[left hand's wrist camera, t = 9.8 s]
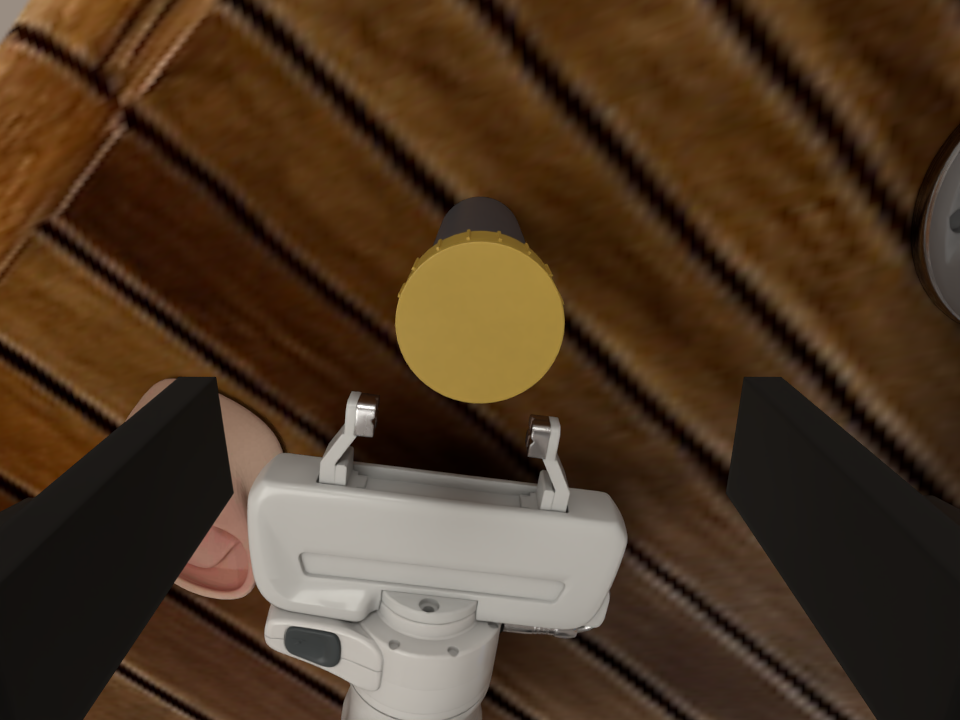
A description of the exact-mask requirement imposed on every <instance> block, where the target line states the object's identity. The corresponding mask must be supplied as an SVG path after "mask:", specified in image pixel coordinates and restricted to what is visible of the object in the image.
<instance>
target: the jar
mask: <svg viewBox="0 0 960 720" xmlns="http://www.w3.org/2000/svg"><path fill="white" fill-rule="evenodd" d="M469 229H470V231H490V232H497V231H501V234H504V235H507V236H509V237H512V238H514V239H516V240H518V241H520V242H521V243H523V244H525V243H526V242H525V240H524V237H523V235H522V232H521V229H520V227H519V224H518V222H517V220H516V218H515V216H514V215H513V213H512V212H511V211H510V210H509V209H508V208H507V207H506V206H505V205H504V204H502V203H501V202H499V201H497V200H494V199H491V198H487V197H473V198H469V199H466V200H463V201H461V202H459V203H458V204H456V205H455V206H454V207H452V209H451V210H450V211H449V212H448V213H447V214H446V216H445V218H444V219H443V222H442V224H441V227H440V229H439V232H438V234H437V237H436V240H435V242H434V245H435V244H437V243H438V240H439V239H442V240H444V239H446V238H448V237H451V236H453V235H456V234H460V233H464V232H467V230H469ZM434 245H433V246H434Z"/></svg>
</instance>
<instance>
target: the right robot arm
mask: <svg viewBox="0 0 960 720" xmlns="http://www.w3.org/2000/svg"><path fill="white" fill-rule="evenodd" d="M379 404H380V395H374V394H368V393H361V392H353V391H352V392H351V395H350V397H349V399H348V402H347V407H346V417H345V424H344V425H343V426H342V428H341V429H340V430H339V432H338V433H337V434H336V435H335V437H334V438H333V439H332V440H331V442H330V443H329V445H328V447H327V449H326V451H325V453H324V455H323V457H314V456H306V455H298V454H291V453H280V454H278V455H277V456H275V457H274V458H273V459H272V460H271V461H270V462H268V463H267V464H266V465H265V466H264V467H263V469H262V470H261V471H260V473H259V474H258V476H257V477H256V479H255V481H254V483H253V485H252V487H251V489H250V492H249V496H248V503H247V525H248V541H249V550H250V558H251V565H252V571H253V576H254V579H255V582H256V585H257V587H258V589H259V591H260V592H261V594H262V595H263V596H264V598H265V599H267V600H268V601H269V602H270V603H271V606H270V609H269V613H268V617H267V621H266V626H265V641H266V643H267V644H268V645H269V646H270V647H271V648H272V649H274V650H276V651H278V652H281V653H283V654H286V655H289V656H291V657H294V658H297V659H300V660H302V661H305V662H308V663H310V664H312V665H315V666H317V667H320V668H322V669H324V670H326V671H329V672H331V673H333V674H335V675H337V676H339V677H341V678H342V679H344V680H346V681H348V682H349V683H350V688H349V690H348V692H347V695H346V697H345V700H344V704H343V709H342V716H341V720H482V709H481V702H482V700H483V699H484V697H485V695H486V693H487V690H488V688H489V685H490V681H491V677H492V672H493V666H494V661H495V656H496V651H497V645H498V640H499V633H501V632H502V631H503V632H511V633H520V634H541V633H542V634H546V635H553V636H554V637H558V638H574V637H576V635H577V633H579V632H585V631H589V630H591V629H593V628H596V627H599V626H600V625H601V624H602V622H603V621H604V619H605V615H606V611H607V608H608V604H609V600H610V588H611V586H612V583H613V581H614V579H615V576H616V574H617V572H618V569H619V566H620V564H621V561H622V558H623V555H624V552H625V549H626V545H627V531H626V527H625V523H624V520H623V517H622V515H621V513H620V511H619V509H618V507H617V506H616V504H615V503H614V501H613V500H612V498H611V497H610V496H609V495H608V494H607V493H605V492H600V491H592V490H584V489H576V488H569V487H568V483H567V479H566V474H565V471H564V469H563V466H562V464H561V461H560V459H559V457H558V454H557V449H558V444H559V439H560V423H559V420H558V418H557V417H549V416H541V415H533V414H531V415H530V418H529V429H528V430H527V434H526V440H525V442H526V447H527V456H528V457H534V458H541V459H543V462H544V464H545V466H546V469H547V471H546V470H542V471H540V475H539V480H538V484H535V483H527V482H518V481H510V480H502V479H494V478H486V477H478V476H469V475H461V474H453V473H445V472H437V471H429V470H420V469H412V468H404V467H396V466H388V465H380V464H371V463H363V462H355V461H353V457H354V448H353V447H351V446H350V444H351V443H352V442H353V440H354V439H355V438H356V437H357V436H365V437H373V435H374V432H375V428H376V426H377V423H378V414H379V411H378V407H379Z"/></svg>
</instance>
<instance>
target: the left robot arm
mask: <svg viewBox="0 0 960 720" xmlns="http://www.w3.org/2000/svg"><path fill="white" fill-rule="evenodd" d="M911 242H912V254H913V259H914V264H915V268H916V271H917V274H918V277H919V280H920V282H921V284H922V286H923V288H924V290H925V291H926V293H927V295H928V296H929V298H930V299H931V300H932V301H933V303H934V304H935V305H936V306H937V307H938V308H939V309H940V310H941V311H942V312H943V313H944V314H946V315H947V316H948V317H950V318H951V319H952V320H954V321H956V322H957V323H959V324H960V124H959V125H958V127H957V128H956V129H955V130H954V131H953V132H952V134H951V135H950V136H949V138H948V139H947V140H946V142H945V143H944V144H943V146H942V147H941V149H940V150H939V152H938V154H937V155H936V157H935V159H934V160H933V162H932V164H931V166H930V168H929V170H928V172H927V174H926V176H925V179H924V181H923V183H922V186H921V188H920V192H919V195H918V198H917V201H916V205H915V210H914V215H913V222H912V240H911ZM233 494H234V490H233V484H232V477H231V471H230V464H229V458H228V451H227V445H226V438H225V432H224V425H223V419H222V412H221V406H220V399H219V393H218V386H217V380H216V377H178V378H177V379H176V380H175V381H173V382H172V383H171V384H170V385H169V386H167V387H166V388H165V389H164V390H163V391H161V392H160V393H159V394H158V395H157V396H155V397H154V398H153V399H152V400H151V401H150V402H148V403H147V404H146V405H145V406H144V407H142V408H141V409H140V410H139V411H138V412H136V413H135V414H134V415H133V416H132V417H130V418H129V419H128V420H127V421H126V422H124V423H123V424H122V425H121V426H120V427H118V428H117V429H116V430H115V431H114V432H112V433H111V434H110V435H109V436H108V437H107V438H105V439H104V440H103V441H102V442H101V443H99V444H98V445H97V446H96V447H95V448H93V449H92V450H91V451H90V452H89V453H87V454H86V455H85V456H84V457H83V458H81V459H80V460H79V461H78V462H77V463H75V464H74V465H73V466H72V467H71V468H70V469H68V470H67V471H66V472H65V473H64V474H62V475H61V476H60V477H59V478H58V479H56V480H55V481H54V482H53V483H52V484H50V485H49V486H48V487H47V488H46V489H44V490H43V491H42V492H41V493H40V494H38V495H37V496H36V497H35V498H26V499H24V500H23V501H21V502H19V503H17V504H15V505H13V506H11V507H9V508H7V509H5V510H3V511H1V512H0V720H83V719H84V717H85V716H86V714H87V713H88V711H89V710H90V708H91V707H92V705H93V704H94V702H95V701H96V699H97V698H98V696H99V695H100V693H101V692H102V690H103V689H104V687H105V686H106V684H107V683H108V681H109V680H110V678H111V677H112V675H113V674H114V672H115V671H116V669H117V668H118V666H119V665H120V663H121V662H122V660H123V659H124V657H125V656H126V654H127V653H128V651H129V650H130V648H131V647H132V645H133V644H134V642H135V641H136V639H137V638H138V636H139V635H140V633H141V632H142V630H143V629H144V627H145V626H146V624H147V623H148V621H149V620H150V618H151V617H152V615H153V614H154V612H155V611H156V609H157V608H158V606H159V605H160V603H161V602H162V600H163V599H164V597H165V596H166V594H167V593H168V591H169V590H170V588H171V587H172V585H173V584H174V582H175V581H176V579H177V578H178V576H179V575H180V573H181V572H182V570H183V569H184V567H185V566H186V564H187V563H188V561H189V560H190V558H191V557H192V555H193V554H194V552H195V551H196V549H197V548H198V546H199V545H200V543H201V542H202V540H203V539H204V537H205V536H206V534H207V533H208V531H209V530H210V528H211V527H212V525H213V524H214V522H215V521H216V519H217V518H218V516H219V515H220V513H221V512H222V510H223V509H224V507H225V506H226V504H227V503H228V501H229V500H230V498H231V497H232V495H233ZM726 494H727V495H728V497H729V498H730V500H731V501H732V503H733V504H734V506H735V507H736V509H737V510H738V512H739V513H740V515H741V516H742V518H743V519H744V521H745V522H746V524H747V525H748V527H749V528H750V530H751V531H752V533H753V534H754V536H755V537H756V539H757V540H758V542H759V543H760V545H761V546H762V548H763V549H764V551H765V552H766V554H767V555H768V557H769V558H770V560H771V561H772V563H773V564H774V566H775V567H776V569H777V570H778V572H779V573H780V575H781V576H782V578H783V579H784V581H785V582H786V584H787V585H788V587H789V588H790V590H791V591H792V593H793V594H794V596H795V597H796V599H797V600H798V602H799V603H800V605H801V606H802V608H803V609H804V611H805V612H806V614H807V615H808V617H809V618H810V620H811V621H812V623H813V624H814V626H815V627H816V629H817V630H818V632H819V633H820V635H821V636H822V638H823V639H824V641H825V642H826V644H827V645H828V647H829V648H830V650H831V651H832V653H833V654H834V656H835V657H836V659H837V660H838V662H839V663H840V665H841V666H842V668H843V669H844V671H845V672H846V674H847V675H848V677H849V678H850V680H851V681H852V683H853V684H854V686H855V687H856V689H857V690H858V692H859V693H860V695H861V696H862V698H863V699H864V701H865V702H866V704H867V705H868V707H869V708H870V710H871V711H872V713H873V714H874V716H875V717H876V719H877V720H960V509H958V508H956V507H954V506H952V505H950V504H948V503H946V502H944V501H942V500H941V499H939V498H937V497H935V496H923V495H922V494H920V493H919V492H918V491H917V490H916V489H914V488H913V487H912V486H911V485H910V484H908V483H907V482H906V481H905V480H904V479H902V478H901V477H900V476H899V475H898V474H896V473H895V472H894V471H893V470H892V469H890V468H889V467H888V466H887V465H886V464H885V463H883V462H882V461H881V460H880V459H879V458H877V457H876V456H875V455H874V454H873V453H871V452H870V451H869V450H868V449H867V448H865V447H864V446H863V445H862V444H861V443H859V442H858V441H857V440H856V439H855V438H853V437H852V436H851V435H850V434H849V433H847V432H846V431H845V430H844V429H843V428H842V427H840V426H839V425H838V424H837V423H836V422H834V421H833V420H832V419H831V418H830V417H828V416H827V415H826V414H825V413H824V412H822V411H821V410H820V409H819V408H818V407H816V406H815V405H814V404H813V403H812V402H810V401H809V400H808V399H807V398H806V397H805V396H803V395H802V394H801V393H800V392H799V391H797V390H796V389H795V388H794V387H793V386H791V385H790V384H789V383H788V382H787V381H785V380H784V379H783V378H782V377H744V380H743V386H742V393H741V399H740V406H739V412H738V419H737V425H736V432H735V438H734V445H733V451H732V458H731V464H730V471H729V477H728V484H727V490H726Z"/></svg>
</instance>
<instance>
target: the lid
mask: <svg viewBox="0 0 960 720" xmlns="http://www.w3.org/2000/svg"><path fill="white" fill-rule="evenodd" d="M552 276H553V275H552V272H551V270H550V268H549V266H548V265H547V264H544V263H543V262H542V260H541V259H540V258H539V257H538V256H537V255H536V254H535V253H534V252H533V251H532V250H531V249H530V248H529V245H528V244H527V243H525V244H523V243H521V242H520V241H518V240H516V239H514V238H512V237H509V236H507V235H504V234H501V231H497V232H490V231H470V229H469V230H467V232H464V233H460V234H456V235H453V236H451V237H448V238H446V239H444V240H442V239H439V240H438V243H437V244H435V245H434V246H433V247H432V248H430V249H429V250H428V251H427V252H426V253H425V254H424V255H423V256H422V257H421V258H420V259H419V258H417V259H416V261H415V263H414V265H413V267H412V271H411V273H410V275H409V277H408V279H407V281H406V283H404V284H403V286H402V288H401V290H400V292H399V294H398V297H399V301H398V305H397V309H396V319H395V322H396V323H395V327H396V334H397V340H398V344H399V347H400V350H401V352H402V354H403V357H404V359H405V361H406V362H407V364H408V365H409V367H410V368H411V370H412V371H413V372H414V373H415V375H416V376H417V377H418V378H419V379H420V380H421V381H422V382H424V383H425V384H426V385H427V386H429V387H430V388H431V389H433V390H434V391H436V392H438V393H440V394H442V395H444V396H446V397H449V398H451V399H454V400H458V401H462V402H469V403H492V402H498V401H502V400H506V399H509V398H511V397H514V396H516V395H518V394H520V393H522V392H524V391H526V390H527V389H529V388H530V387H532V386H533V385H534V384H535V383H536V382H538V381H539V380H540V379H541V378H542V377H543V376H544V375H545V373H546V372H547V371H548V370H549V368H550V367H551V365H552V364H553V362H554V361H555V359H556V357H557V355H558V353H559V350H560V347H561V344H562V340H563V335H564V325H565V319H564V309H563V305H564V301H563V299H562V297H561V295H560V293H559V291H558V290H557V288H556V285H555V283H554V281H553V279H552Z"/></svg>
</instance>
